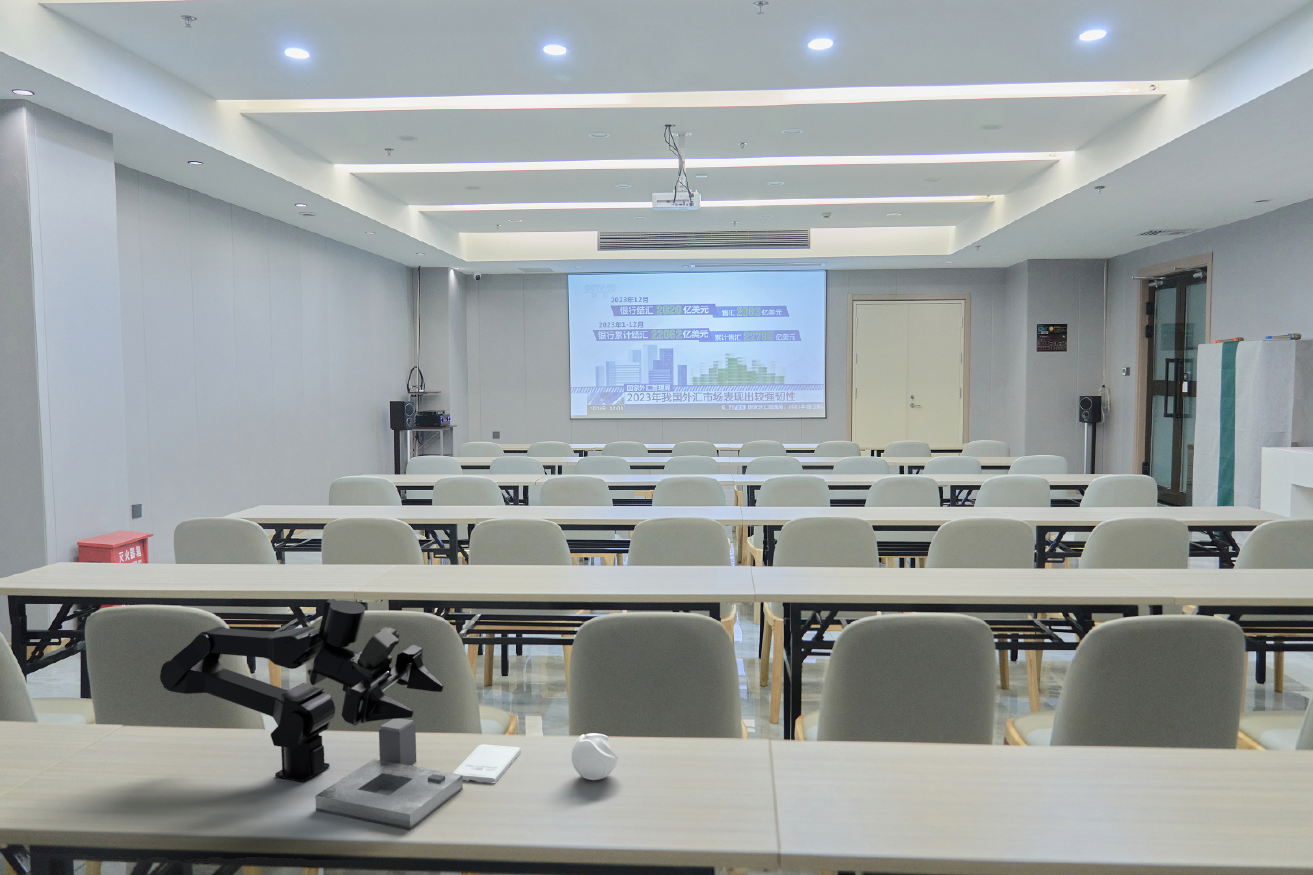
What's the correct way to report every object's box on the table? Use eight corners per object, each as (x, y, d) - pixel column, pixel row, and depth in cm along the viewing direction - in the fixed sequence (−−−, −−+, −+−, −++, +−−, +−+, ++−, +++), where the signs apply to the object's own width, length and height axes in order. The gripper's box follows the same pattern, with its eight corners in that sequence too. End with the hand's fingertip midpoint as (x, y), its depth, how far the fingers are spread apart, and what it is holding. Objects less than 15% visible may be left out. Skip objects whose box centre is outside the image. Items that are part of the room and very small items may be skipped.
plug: (380, 768, 151) (378, 726, 150) (396, 758, 155) (394, 717, 154) (400, 772, 149) (399, 729, 149) (416, 761, 153) (415, 720, 153)
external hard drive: (521, 755, 157) (495, 786, 145) (479, 752, 158) (449, 782, 146) (521, 747, 157) (495, 777, 144) (478, 743, 158) (449, 773, 146)
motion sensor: (624, 782, 144) (623, 737, 144) (582, 792, 141) (581, 746, 140) (605, 764, 151) (605, 721, 151) (565, 773, 148) (564, 729, 148)
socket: (315, 810, 136) (315, 792, 136) (374, 772, 149) (373, 756, 149) (410, 829, 130) (409, 811, 129) (462, 788, 143) (462, 771, 142)
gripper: (319, 647, 135) (404, 683, 131) (388, 605, 153) (465, 636, 149) (309, 708, 138) (392, 745, 134) (378, 660, 155) (453, 692, 152)
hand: (428, 701), depth 142 cm, fingers open, 9 cm apart
